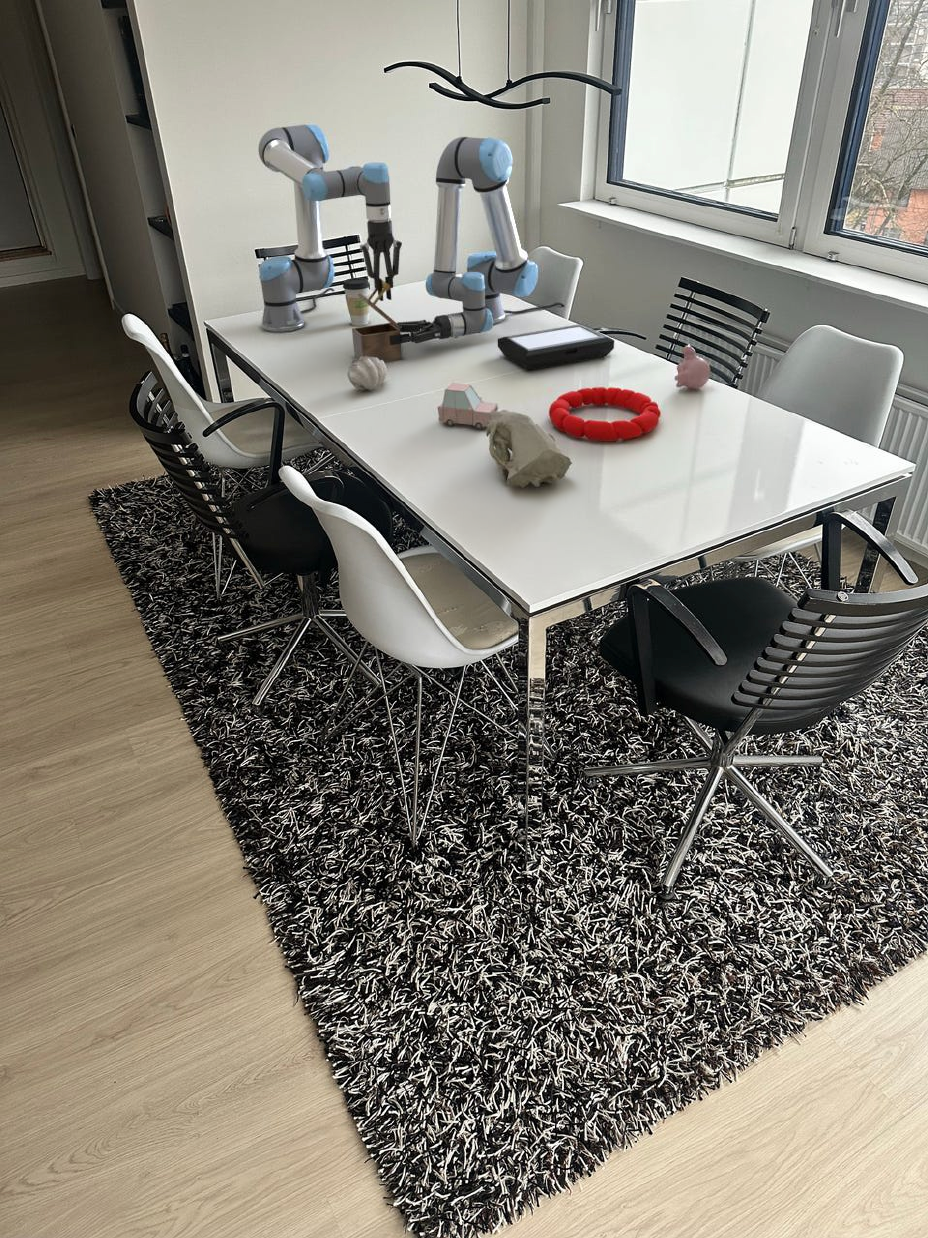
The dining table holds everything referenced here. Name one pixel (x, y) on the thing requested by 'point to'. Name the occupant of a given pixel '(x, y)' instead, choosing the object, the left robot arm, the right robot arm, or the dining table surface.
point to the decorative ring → (604, 428)
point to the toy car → (465, 406)
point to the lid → (385, 288)
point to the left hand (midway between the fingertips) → (384, 299)
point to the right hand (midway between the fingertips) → (385, 336)
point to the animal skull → (525, 450)
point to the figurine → (692, 370)
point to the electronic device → (555, 346)
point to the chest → (376, 342)
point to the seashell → (367, 372)
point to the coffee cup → (357, 300)
